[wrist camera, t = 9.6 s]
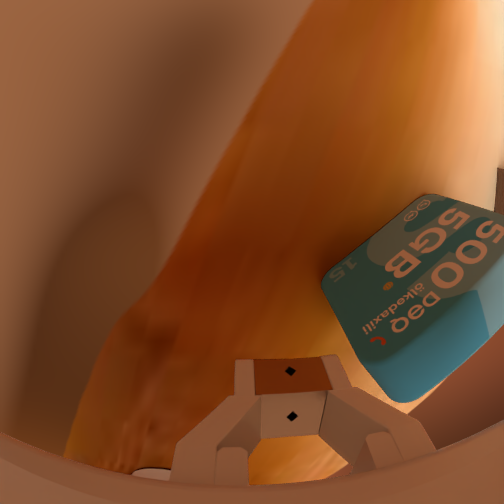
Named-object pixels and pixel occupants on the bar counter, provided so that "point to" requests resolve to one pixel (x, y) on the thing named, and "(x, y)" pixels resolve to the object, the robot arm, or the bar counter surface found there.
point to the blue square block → (421, 293)
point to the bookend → (500, 192)
